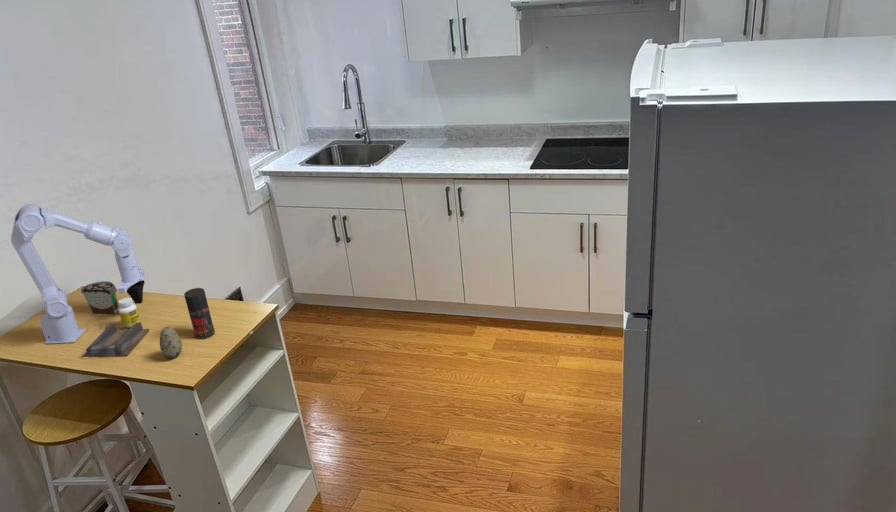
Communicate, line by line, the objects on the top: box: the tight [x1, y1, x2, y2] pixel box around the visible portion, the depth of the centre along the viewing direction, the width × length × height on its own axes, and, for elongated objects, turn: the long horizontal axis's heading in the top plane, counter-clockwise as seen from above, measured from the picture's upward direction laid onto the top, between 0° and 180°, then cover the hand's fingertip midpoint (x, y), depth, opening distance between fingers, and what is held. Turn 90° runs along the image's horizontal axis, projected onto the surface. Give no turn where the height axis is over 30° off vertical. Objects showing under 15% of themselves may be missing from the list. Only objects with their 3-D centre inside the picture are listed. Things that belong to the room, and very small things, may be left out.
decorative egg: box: [159, 326, 183, 358], centre depth 196 cm, size 6×6×10 cm
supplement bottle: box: [118, 297, 142, 330], centre depth 214 cm, size 5×5×10 cm
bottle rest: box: [82, 322, 150, 358], centre depth 206 cm, size 14×15×3 cm
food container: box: [80, 280, 119, 316], centre depth 226 cm, size 12×6×10 cm, turn 77°
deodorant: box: [183, 287, 216, 340], centre depth 205 cm, size 6×6×15 cm
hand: (139, 302), depth 221 cm, fingers closed
